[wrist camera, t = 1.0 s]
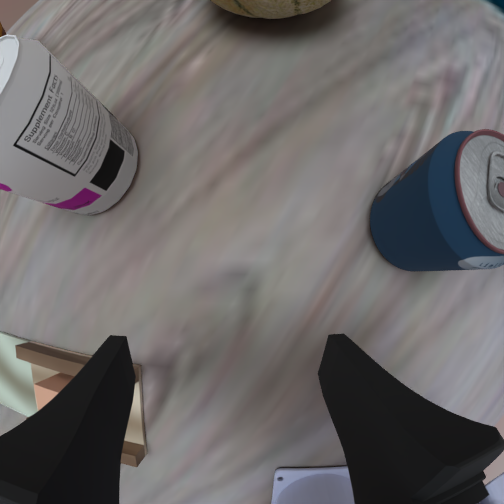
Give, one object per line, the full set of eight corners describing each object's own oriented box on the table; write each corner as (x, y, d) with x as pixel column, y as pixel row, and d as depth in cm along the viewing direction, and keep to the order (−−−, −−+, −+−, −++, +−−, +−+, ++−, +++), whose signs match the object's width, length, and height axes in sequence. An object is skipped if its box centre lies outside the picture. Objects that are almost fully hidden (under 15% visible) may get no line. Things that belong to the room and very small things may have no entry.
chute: (147, 453, 22) (136, 467, 20) (-18, 390, 23) (-32, 395, 21) (140, 365, 23) (127, 374, 20) (-28, 321, 24) (-42, 323, 21)
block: (117, 433, 22) (93, 457, 17) (71, 419, 22) (44, 438, 18) (112, 382, 22) (84, 400, 18) (64, 370, 22) (33, 384, 18)
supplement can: (89, 237, 23) (-60, 204, 9) (50, 171, 24) (-70, 114, 9) (159, 167, 23) (46, 60, 9) (111, 109, 24) (14, 10, 9)
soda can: (431, 282, 22) (539, 286, 10) (354, 255, 22) (434, 237, 10) (448, 200, 22) (547, 156, 10) (376, 169, 22) (450, 92, 11)
